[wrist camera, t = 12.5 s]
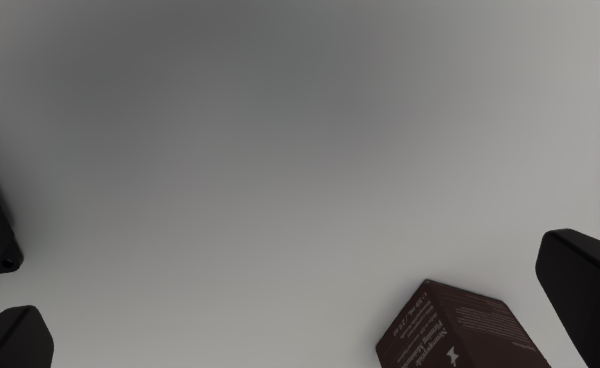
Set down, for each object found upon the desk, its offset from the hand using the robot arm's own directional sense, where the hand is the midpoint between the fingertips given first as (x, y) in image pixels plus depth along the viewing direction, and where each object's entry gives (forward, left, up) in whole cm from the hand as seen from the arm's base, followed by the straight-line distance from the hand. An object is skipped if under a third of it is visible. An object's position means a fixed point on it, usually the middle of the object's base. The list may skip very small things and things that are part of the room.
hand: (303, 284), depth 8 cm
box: (+9, -16, -12) cm, 22 cm away
